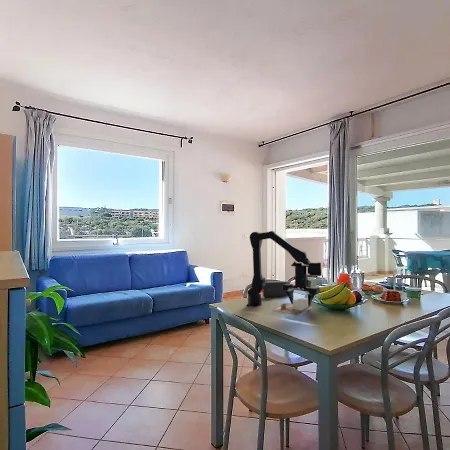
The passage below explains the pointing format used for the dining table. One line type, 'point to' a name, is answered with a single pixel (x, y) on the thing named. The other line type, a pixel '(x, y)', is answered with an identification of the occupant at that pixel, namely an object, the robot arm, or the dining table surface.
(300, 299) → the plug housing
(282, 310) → the mounting board
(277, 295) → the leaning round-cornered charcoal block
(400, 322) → the dining table surface
